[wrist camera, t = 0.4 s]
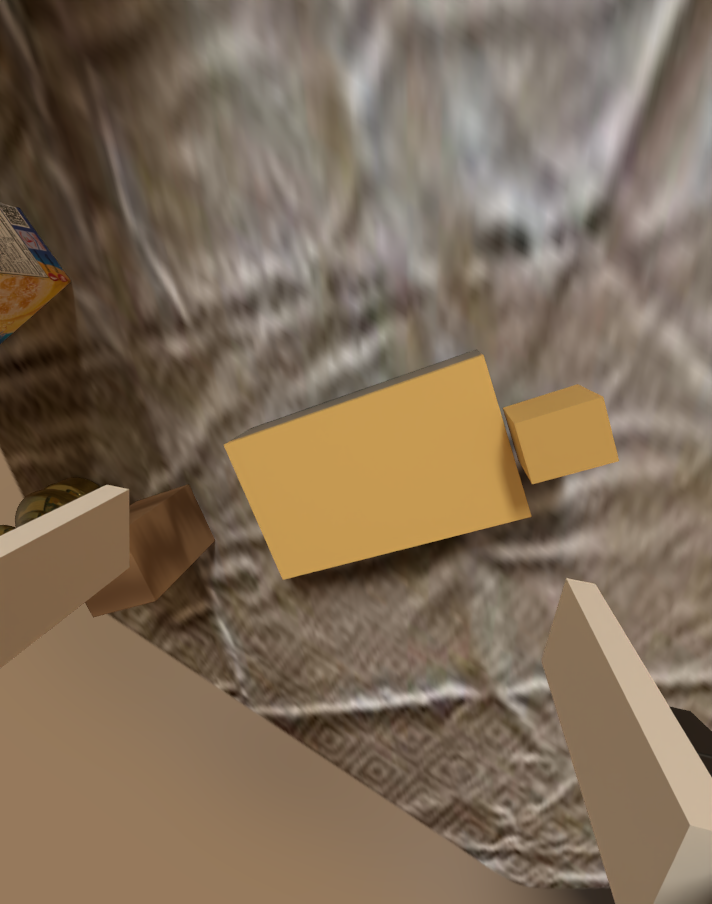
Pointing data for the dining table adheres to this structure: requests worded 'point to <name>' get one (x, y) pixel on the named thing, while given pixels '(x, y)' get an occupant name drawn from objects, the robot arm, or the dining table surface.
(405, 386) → the lid
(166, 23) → the dining table surface
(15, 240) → the beverage box
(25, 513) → the gold tapered round piece
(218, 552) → the dining table surface
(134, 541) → the walnut block
